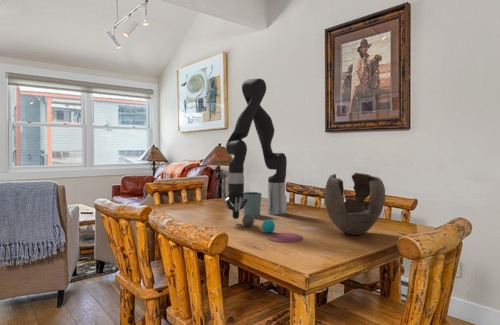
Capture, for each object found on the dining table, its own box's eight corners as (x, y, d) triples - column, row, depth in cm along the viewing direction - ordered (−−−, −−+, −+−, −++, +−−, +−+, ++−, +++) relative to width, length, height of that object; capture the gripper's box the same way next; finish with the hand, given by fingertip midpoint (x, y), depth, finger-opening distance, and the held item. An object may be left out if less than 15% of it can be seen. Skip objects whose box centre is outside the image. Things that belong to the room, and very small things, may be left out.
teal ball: (269, 230, 147) (269, 217, 146) (277, 233, 142) (277, 220, 142) (259, 232, 143) (259, 219, 143) (267, 235, 139) (267, 221, 139)
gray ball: (249, 224, 158) (249, 213, 157) (256, 227, 153) (256, 214, 153) (239, 226, 154) (239, 214, 154) (247, 228, 150) (247, 216, 150)
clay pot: (339, 225, 157) (339, 171, 156) (393, 233, 141) (394, 174, 141) (314, 235, 138) (314, 174, 137) (372, 246, 123) (373, 177, 122)
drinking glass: (240, 216, 177) (239, 193, 177) (245, 213, 187) (245, 191, 186) (258, 217, 174) (258, 194, 174) (263, 214, 184) (263, 192, 183)
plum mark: (285, 231, 145) (285, 231, 145) (310, 238, 134) (310, 237, 134) (260, 236, 136) (260, 236, 136) (284, 244, 125) (284, 243, 125)
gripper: (229, 183, 153) (228, 221, 154) (251, 182, 161) (251, 218, 162) (220, 182, 159) (219, 219, 160) (242, 181, 167) (242, 215, 168)
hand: (235, 218), depth 161 cm, fingers closed
